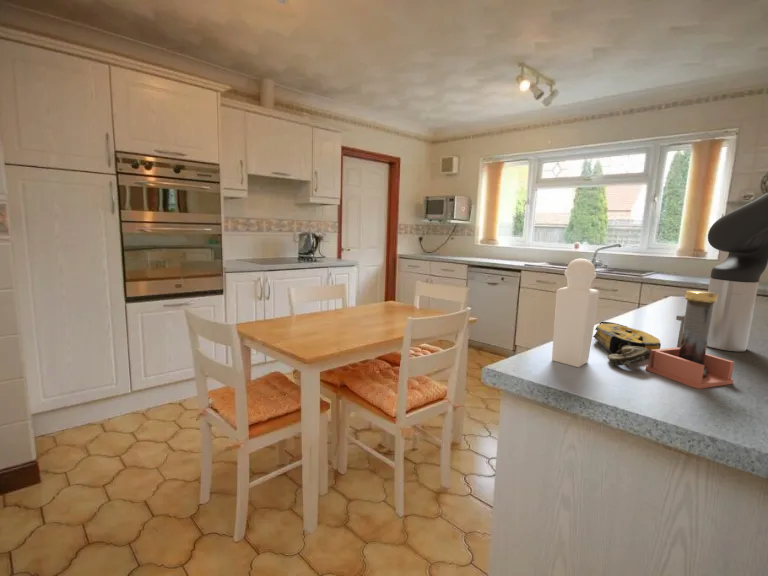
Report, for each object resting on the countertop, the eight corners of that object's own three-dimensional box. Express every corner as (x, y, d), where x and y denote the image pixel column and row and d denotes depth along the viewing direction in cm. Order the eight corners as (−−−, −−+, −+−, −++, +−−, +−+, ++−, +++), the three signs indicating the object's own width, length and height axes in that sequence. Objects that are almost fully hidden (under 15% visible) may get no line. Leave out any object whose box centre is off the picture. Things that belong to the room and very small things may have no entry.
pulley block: (592, 335, 82) (599, 312, 108) (584, 361, 84) (593, 332, 109) (673, 359, 76) (660, 328, 101) (662, 387, 77) (653, 350, 103)
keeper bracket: (677, 363, 87) (685, 314, 85) (736, 383, 76) (746, 327, 75) (640, 368, 83) (648, 316, 81) (697, 388, 73) (707, 330, 71)
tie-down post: (684, 366, 82) (695, 290, 80) (714, 376, 77) (727, 294, 75) (665, 369, 80) (676, 290, 78) (694, 379, 75) (708, 295, 73)
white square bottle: (591, 362, 85) (604, 259, 82) (580, 369, 81) (593, 260, 77) (560, 354, 90) (571, 256, 86) (548, 360, 85) (559, 257, 82)
